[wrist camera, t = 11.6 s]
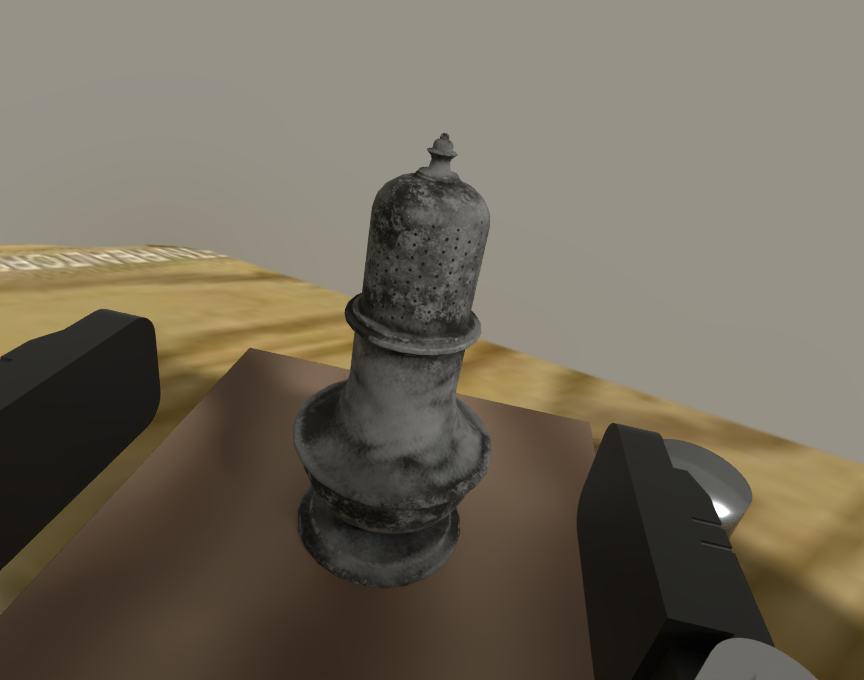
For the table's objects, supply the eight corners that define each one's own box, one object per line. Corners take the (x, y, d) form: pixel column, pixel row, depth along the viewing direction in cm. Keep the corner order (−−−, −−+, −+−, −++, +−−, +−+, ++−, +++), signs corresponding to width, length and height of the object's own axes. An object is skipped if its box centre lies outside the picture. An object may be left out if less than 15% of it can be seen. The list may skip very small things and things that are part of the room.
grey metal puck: (707, 493, 30) (731, 451, 28) (740, 569, 25) (770, 523, 24) (616, 473, 30) (635, 430, 29) (633, 544, 26) (656, 497, 24)
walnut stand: (559, 502, 27) (589, 422, 25) (603, 987, 13) (685, 908, 11) (249, 432, 28) (249, 347, 25) (-29, 816, 14) (-86, 708, 11)
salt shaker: (505, 546, 18) (631, 170, 12) (342, 634, 14) (410, 164, 8) (405, 438, 21) (464, 116, 16) (258, 486, 18) (266, 97, 12)
